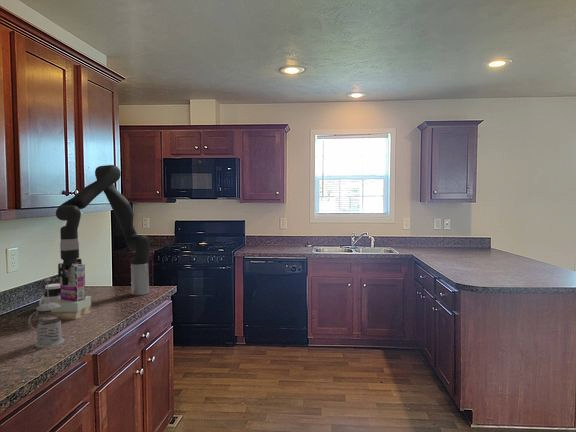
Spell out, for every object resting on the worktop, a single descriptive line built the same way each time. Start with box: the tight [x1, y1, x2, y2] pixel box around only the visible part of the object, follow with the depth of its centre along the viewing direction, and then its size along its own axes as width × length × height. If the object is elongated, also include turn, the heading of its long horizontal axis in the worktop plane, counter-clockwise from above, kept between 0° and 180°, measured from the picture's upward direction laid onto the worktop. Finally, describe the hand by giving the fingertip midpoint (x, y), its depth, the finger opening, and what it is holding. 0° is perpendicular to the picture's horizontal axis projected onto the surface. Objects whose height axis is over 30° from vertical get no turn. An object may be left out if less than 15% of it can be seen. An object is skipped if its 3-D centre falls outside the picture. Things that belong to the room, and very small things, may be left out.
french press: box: [27, 277, 66, 349], centre depth 151 cm, size 10×12×25 cm
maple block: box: [50, 304, 92, 321], centre depth 186 cm, size 12×12×4 cm
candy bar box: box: [59, 263, 86, 301], centre depth 186 cm, size 11×5×16 cm, turn 66°
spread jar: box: [38, 283, 61, 306], centre depth 199 cm, size 12×11×12 cm
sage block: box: [50, 295, 92, 313], centre depth 187 cm, size 12×12×4 cm
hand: (71, 283), depth 186 cm, fingers open, 8 cm apart
